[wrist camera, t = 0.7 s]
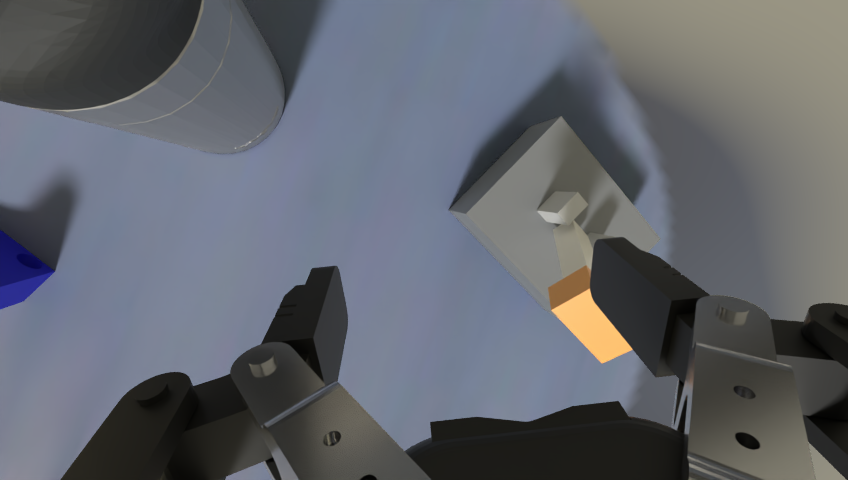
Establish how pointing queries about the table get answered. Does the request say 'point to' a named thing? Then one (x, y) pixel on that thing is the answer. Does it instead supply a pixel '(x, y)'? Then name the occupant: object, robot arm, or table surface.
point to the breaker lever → (582, 296)
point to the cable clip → (19, 272)
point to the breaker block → (546, 205)
